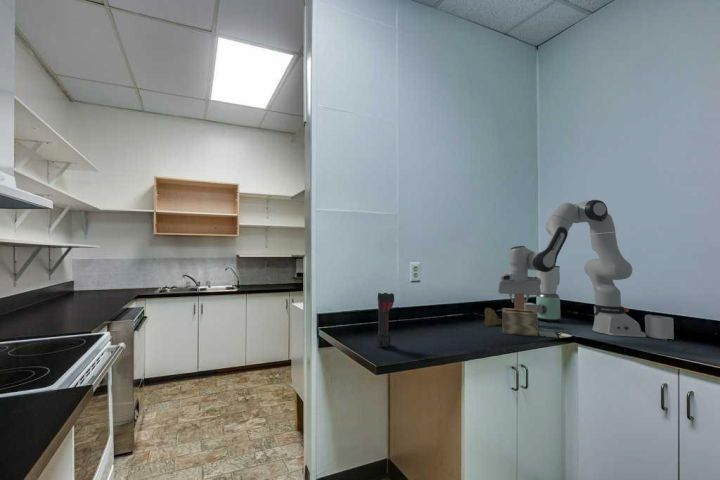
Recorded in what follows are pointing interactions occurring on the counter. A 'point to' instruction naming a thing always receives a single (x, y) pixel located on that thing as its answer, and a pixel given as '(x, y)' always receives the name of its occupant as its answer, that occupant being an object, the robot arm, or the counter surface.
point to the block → (519, 301)
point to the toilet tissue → (659, 327)
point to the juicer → (549, 295)
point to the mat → (547, 334)
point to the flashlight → (384, 319)
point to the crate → (519, 322)
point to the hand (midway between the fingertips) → (519, 302)
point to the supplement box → (531, 307)
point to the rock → (491, 317)
